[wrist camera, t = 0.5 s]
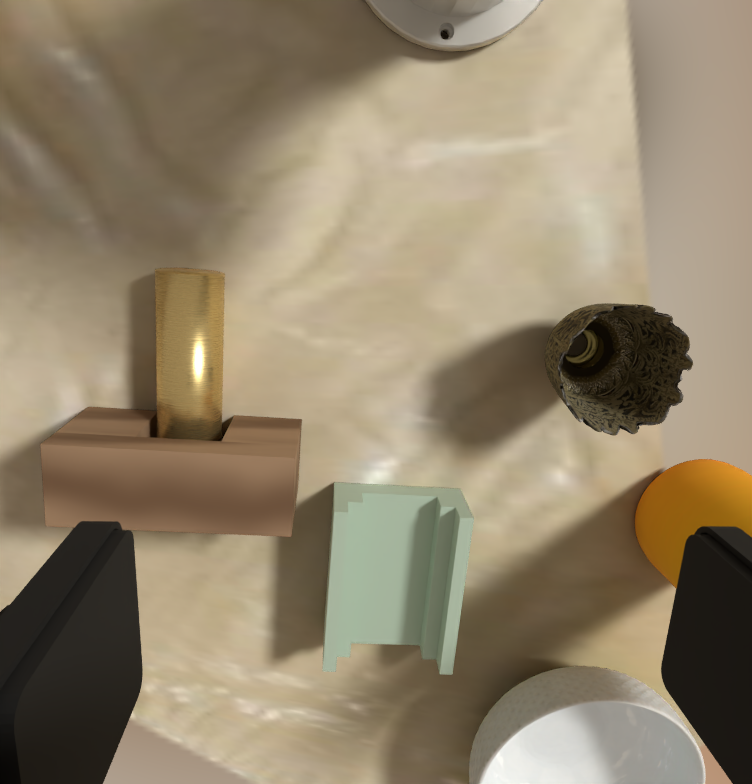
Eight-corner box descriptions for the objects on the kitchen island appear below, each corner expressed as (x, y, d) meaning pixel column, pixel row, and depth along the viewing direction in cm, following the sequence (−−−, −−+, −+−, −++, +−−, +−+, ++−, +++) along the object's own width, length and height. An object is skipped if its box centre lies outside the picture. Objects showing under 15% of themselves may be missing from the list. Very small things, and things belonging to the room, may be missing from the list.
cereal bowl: (412, 726, 50) (424, 806, 43) (568, 592, 48) (608, 655, 41) (547, 832, 54) (578, 921, 47) (698, 714, 52) (753, 790, 45)
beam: (88, 406, 41) (40, 444, 34) (301, 419, 42) (295, 458, 36) (91, 476, 42) (45, 526, 36) (297, 487, 44) (291, 536, 37)
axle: (166, 266, 39) (145, 271, 35) (230, 271, 40) (216, 277, 36) (167, 498, 44) (149, 525, 40) (225, 502, 44) (213, 529, 40)
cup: (537, 278, 41) (584, 293, 33) (642, 299, 42) (712, 318, 34) (508, 387, 43) (546, 424, 35) (609, 404, 43) (668, 445, 36)
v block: (334, 482, 44) (334, 511, 39) (460, 488, 44) (474, 518, 40) (323, 629, 47) (322, 671, 43) (441, 632, 48) (452, 674, 43)
